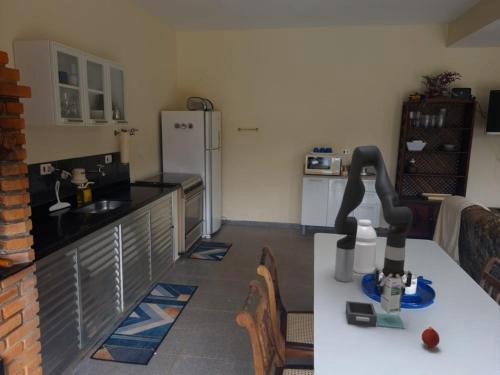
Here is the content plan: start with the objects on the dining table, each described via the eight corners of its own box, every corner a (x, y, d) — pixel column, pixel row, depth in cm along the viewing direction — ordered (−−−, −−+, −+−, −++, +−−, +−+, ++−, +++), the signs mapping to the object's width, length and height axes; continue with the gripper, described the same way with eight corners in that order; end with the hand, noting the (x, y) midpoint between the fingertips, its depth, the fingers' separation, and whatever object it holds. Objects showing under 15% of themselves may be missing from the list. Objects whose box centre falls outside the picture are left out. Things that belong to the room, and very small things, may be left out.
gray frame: (345, 310, 160) (346, 301, 159) (371, 313, 158) (372, 303, 157) (348, 325, 148) (348, 315, 147) (376, 328, 146) (377, 318, 145)
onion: (433, 342, 137) (435, 322, 136) (441, 352, 132) (444, 331, 130) (417, 342, 137) (419, 322, 136) (425, 352, 132) (427, 331, 130)
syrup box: (388, 313, 147) (391, 279, 145) (379, 306, 153) (382, 273, 150) (400, 312, 149) (404, 278, 146) (391, 305, 154) (394, 272, 152)
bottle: (376, 267, 209) (380, 219, 204) (373, 276, 197) (377, 225, 192) (350, 262, 215) (354, 216, 210) (346, 271, 203) (349, 221, 198)
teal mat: (374, 314, 157) (374, 312, 157) (399, 316, 156) (399, 315, 156) (378, 326, 148) (378, 325, 148) (404, 329, 146) (404, 328, 146)
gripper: (411, 254, 150) (407, 292, 152) (374, 251, 152) (371, 289, 155) (416, 260, 142) (412, 300, 145) (377, 258, 144) (374, 297, 147)
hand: (391, 294), depth 150 cm, fingers closed on syrup box, 7 cm apart
